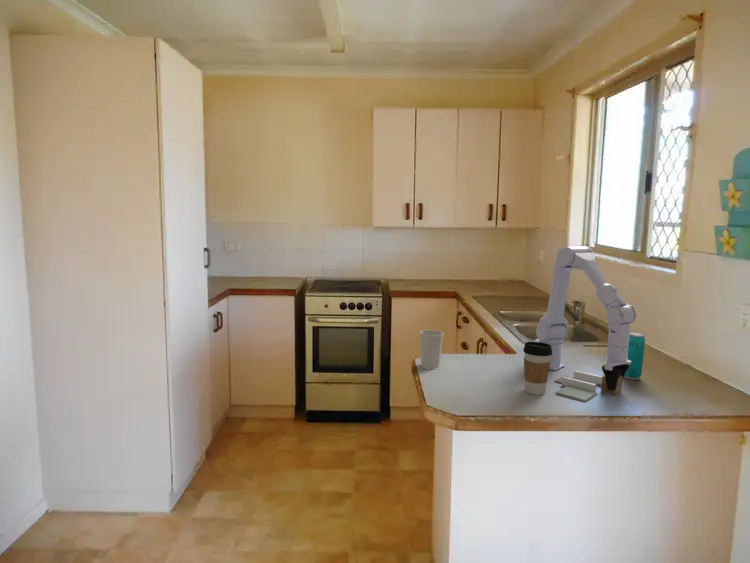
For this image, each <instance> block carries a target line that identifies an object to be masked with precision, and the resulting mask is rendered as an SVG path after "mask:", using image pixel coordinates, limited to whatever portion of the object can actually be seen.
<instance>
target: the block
mask: <svg viewBox="0 0 750 563" xmlns="http://www.w3.org/2000/svg"><path fill="white" fill-rule="evenodd" d="M622 377H623V376H619V379H618V382H617V386H616V389H615V391H612V390H608V389H607V385H606V378H605V375H604V374H603V375H602V385H600V386H601V388H600V393H604V394H609V395H613V396H617V395H619V394H620V393H621V392H622V385H623V381H622Z"/></svg>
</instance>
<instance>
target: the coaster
mask: <svg viewBox="0 0 750 563" xmlns="http://www.w3.org/2000/svg"><path fill="white" fill-rule="evenodd" d="M555 395H557V396H562V397H565V398H569V399H573V400H577V401H580V402H585V403H587V402H588V401H589V400H591V399H592V398H594V397H596V396H597V395H598V392H597V391H596V392H594V391H590V390H586V389H582V388H578V387H574V386H570V385H567V386H564V387H562V388H560V389H559V390H556V391H555Z"/></svg>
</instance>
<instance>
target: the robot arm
mask: <svg viewBox="0 0 750 563" xmlns="http://www.w3.org/2000/svg"><path fill="white" fill-rule="evenodd" d="M556 252H557V253H556V258H555V262H554V265H553V270H552V278H551V284H550V291H549V297H548V305H547V311H546V313H545V314H544V315H543V316H542V317H541V318H539V321H538V324H537V327H536V328H535V334H536V337H537V338H536V339H535V340H534V341H533V342H541V343H546V344H549V345H551V347H552V355H551V357H550V367H549V370H552V371H557V370H559V369H561V368H563V367H565V366H566V365H565V364H564V363H561V360H562V350H563V349H562V348H563V343H564V342H565V339H567V337H568V336H569V335H568V334H569V328H568V323H569V322H568V319H567V318H566V317H565V316H564V315H565V309H566V303H567V295H568V289H569V283H570V277H571V273H572V272H573V271H575V270H580V271H583V272H584V274H585V275H586V277H587V278H588V279H589V280H590V282H591V283H592V285H594V287H595V288H596V292H595V295H596V297H597V298H598V300H599V301H600V303H601V304H602V307H603V308H604V309H605V311H606V313H605V319H606V321H607V328H608V338H607V350H606V356H605V363H604V365H602V366H601V370H602V372H603V375H605V378H606V385H607V389H608V390H612V391H615V389H616V386H617V382H618V379H619V376H623V377H622V382H623V381H624V379H625V377H624V376H625V373H626V371H627V370H628V368H629V367H630V364H631V361H630V360H628V346H629V336H630V332H631V325H632V324H633V323H634V322H635V320H636V318H637V313H636V310H635V308H634V306H633V305H631V304H629V303H627V302H626V301H625V300H624V299H623V297H622V295H620V293H619V292H618V288H617V287H616V286H615V285H613V284H610V283H608V282H607V279H606V278H605V277H604V275H603V273H602V271H601V269H600V267H599V265H598V264H597V261H596V254H595V253H594V251H593V249H592V248H591V247H590V246H587V245H583V246H566V245H565V246H563V247H561V248H560V249H558V250H557V251H556Z"/></svg>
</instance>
